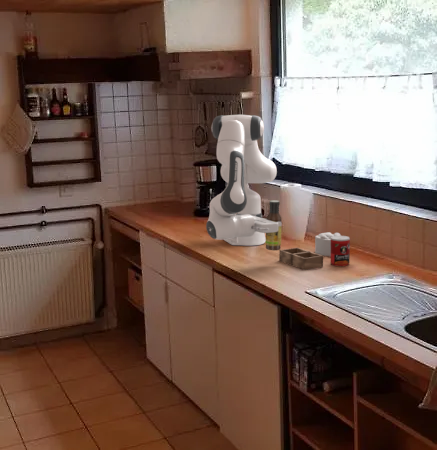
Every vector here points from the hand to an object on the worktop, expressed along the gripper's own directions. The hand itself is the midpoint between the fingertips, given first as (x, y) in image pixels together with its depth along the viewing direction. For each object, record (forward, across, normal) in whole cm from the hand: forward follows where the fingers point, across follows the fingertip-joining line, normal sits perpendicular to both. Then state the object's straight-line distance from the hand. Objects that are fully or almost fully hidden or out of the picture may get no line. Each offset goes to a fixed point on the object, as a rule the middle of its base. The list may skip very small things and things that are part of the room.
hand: (275, 222), depth 289 cm
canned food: (+23, -13, +18) cm, 32 cm away
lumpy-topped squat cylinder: (+31, +5, +18) cm, 36 cm away
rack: (+10, -4, +18) cm, 21 cm away
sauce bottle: (-1, 0, +11) cm, 11 cm away
